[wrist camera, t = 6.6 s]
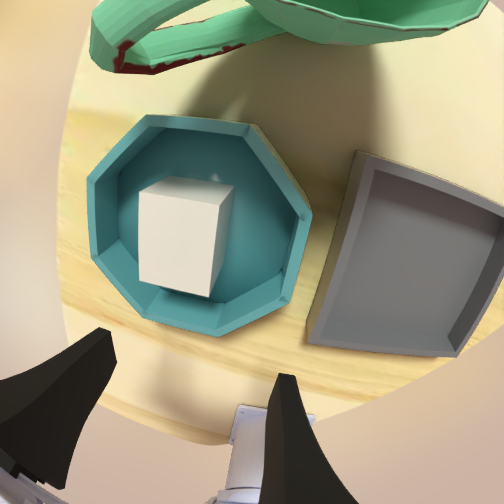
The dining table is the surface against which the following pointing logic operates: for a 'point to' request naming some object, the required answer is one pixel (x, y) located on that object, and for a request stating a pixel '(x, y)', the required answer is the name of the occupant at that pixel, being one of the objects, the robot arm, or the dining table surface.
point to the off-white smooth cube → (183, 233)
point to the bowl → (240, 225)
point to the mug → (258, 27)
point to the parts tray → (407, 263)
